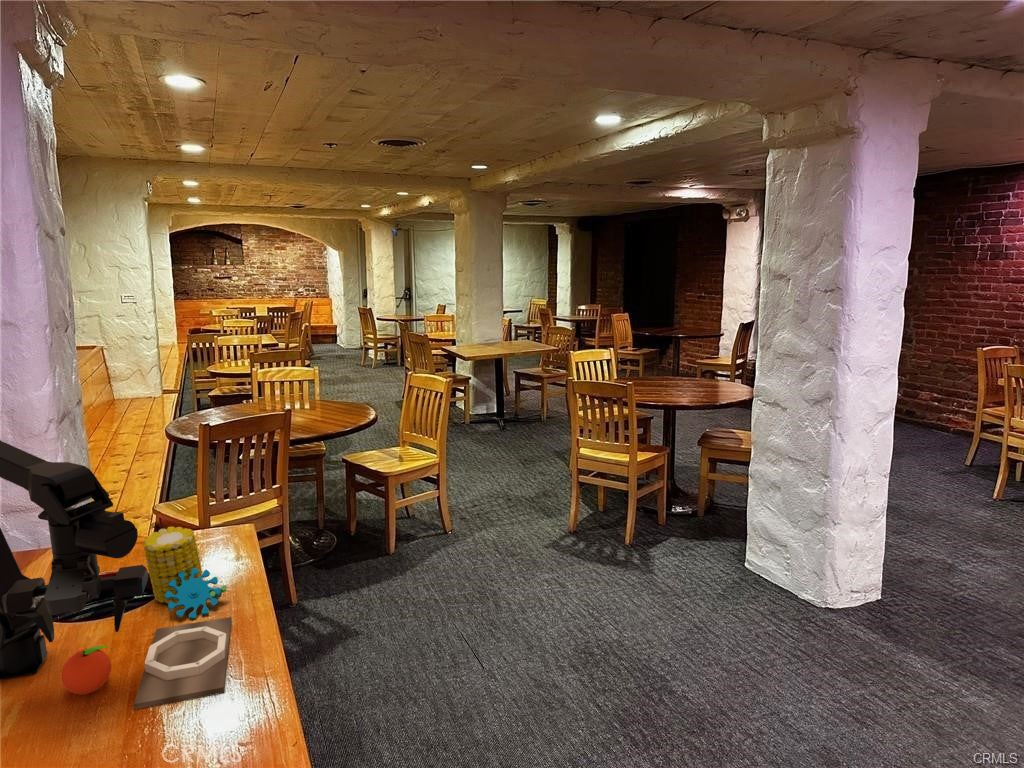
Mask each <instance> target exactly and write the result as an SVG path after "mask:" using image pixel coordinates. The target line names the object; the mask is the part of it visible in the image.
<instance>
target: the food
mask: <svg viewBox="0 0 1024 768" xmlns="http://www.w3.org/2000/svg"><path fill="white" fill-rule="evenodd" d="M194 533H195V532H194V530H193V529H191V528H186V527H184V528H183V527H181V526H177V527H175V526H168V527H167V528H160V529H159V530H158V531H154V532H152V533H151V534H150V535H147V536H146V539H145V540H143V541H144V542H143V549H144V554H145V558H146V562H145V563H146V564H147V565H146V566H147V567H146V568H147V571H148V578H149V579H150V583H151V585H152V592H153V593H152V594H153V596H154V598H155V600H156V601H157V602H159V603H161V604H163V603H165V604H168V603H170V602H173V603H178V602H179V600H177V599H174V598H170V599H166V598H165V595H166V593H167V591H171V592H172V594H173V595H177V594H178V592H177V591H176V589H174V588H172V587H169V583H170V582H171V581H172V580H175V581H176V586H177V587H180V586H181V585H182V582H181V579H180V578H179V577H178V574H179V573H180V572H185V573H186V576H185V578H184V580H185V581H187V580H189V578H190V577H191V569H192V568H196V569H198V573H197V574H196V575H194V576H193V578H195V579H196V578H198V577H200V576H201V575H202V574H203V571H202V566H201V560H200V556H199V550H198V545H197V542H196V541H197V539H196V538H195V537H196V536H195V534H194ZM203 578H204V577H203ZM203 578H202V580H203V581H205V580H204V579H203Z"/></svg>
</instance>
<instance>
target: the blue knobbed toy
mask: <svg viewBox="0 0 1024 768" xmlns="http://www.w3.org/2000/svg"><path fill="white" fill-rule="evenodd" d="M197 573H198V569H196V568H192V569H191V577H190V578H189V580H187V581H185V580H184V578H185V576H186V573H185V572H180V573H179V574H178V577H179V578H180V579H181V582H182V585H181V586H180V587H177V586H176V581H175V580H172V581H171V582H170V583H169V587H172V588H174V589H176V591H177V592H178V594H177V595H173V594H172V592H171V591H167V593H166V595H165V598H166V599H170V598H174V599H177V600H179V602H178V603H173V602H170V603H167V607H168V610H169V611H173V610H174V609H175V608H177V607H181V606H182V607H184V608H183V609H178V610H177V611H176V616H177V617H179V619H181V618H182V617H184V615H185V613H186V612H187V611H188V610H191V609H193V611H191V612H189V614H188V618H189V619H192V620H195V619H196V618H197V610H198V608H199V607H203V608H202V610H201V615H203V616H205V615H208V614H209V613H210V609H209V608H208V607H207V605H206V602H207V600H209V601H210V606H212V607H215V606H217V604H218V603H219V599H220V598H221V597H222V594H223V593H226V591H227V588H228V587H227V585H225V584H224V585H222V586H221V587H220V586H219V587H211V586H210V585H209V584H212V585H218V584H219V583H218V582H219V579H218V577H217V576H214V577H212V578H211V579H209V580H204V579H203V580H204V581H203V580H202V578H208V577H210V575H211V572H210V571H209V570H208V569H204V570H203V571H202V575H201V576H200V577H198V578H196V579H195V578H193V576H194V575H196V574H197Z"/></svg>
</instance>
